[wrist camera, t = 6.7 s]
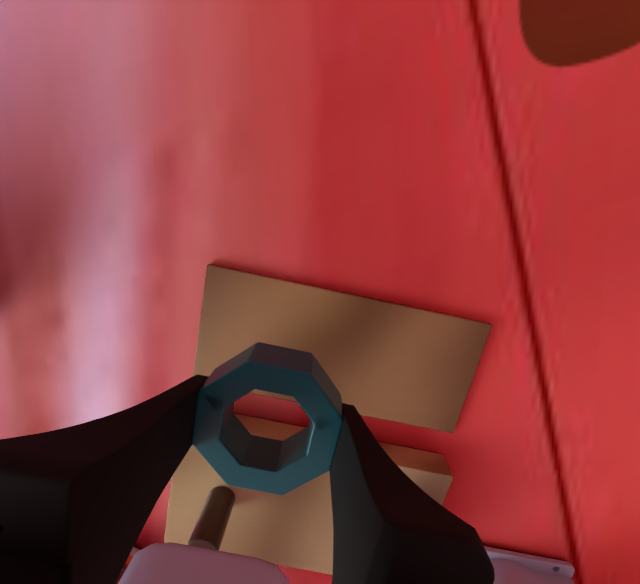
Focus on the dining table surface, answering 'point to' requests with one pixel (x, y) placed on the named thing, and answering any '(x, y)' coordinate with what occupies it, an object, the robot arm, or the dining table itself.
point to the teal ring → (260, 452)
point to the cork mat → (347, 344)
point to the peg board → (275, 506)
